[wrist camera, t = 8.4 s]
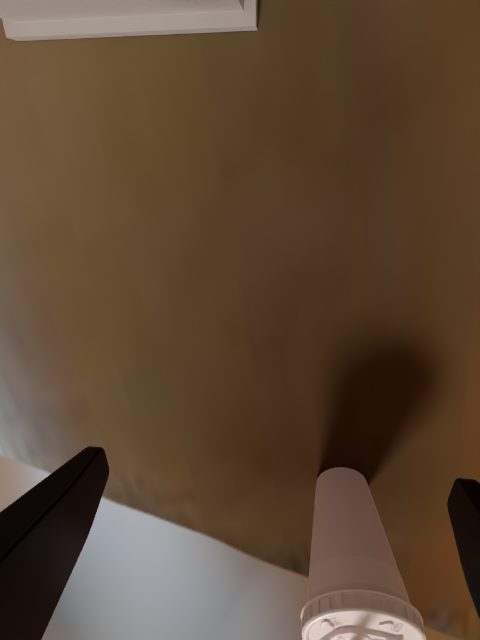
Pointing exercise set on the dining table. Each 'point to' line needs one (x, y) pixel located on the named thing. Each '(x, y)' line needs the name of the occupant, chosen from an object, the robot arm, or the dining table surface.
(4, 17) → the stand base
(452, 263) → the dining table surface
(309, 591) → the smoothie
